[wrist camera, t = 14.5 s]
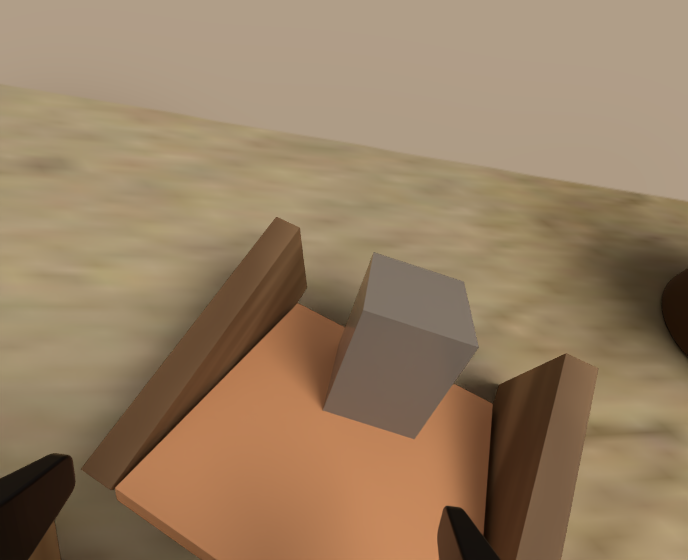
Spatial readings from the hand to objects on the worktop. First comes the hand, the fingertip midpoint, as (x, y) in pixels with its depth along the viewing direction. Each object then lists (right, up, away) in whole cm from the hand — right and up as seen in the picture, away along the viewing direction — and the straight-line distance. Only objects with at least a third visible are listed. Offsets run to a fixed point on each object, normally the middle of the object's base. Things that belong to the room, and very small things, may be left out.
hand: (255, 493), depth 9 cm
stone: (+4, -1, +12) cm, 13 cm away
